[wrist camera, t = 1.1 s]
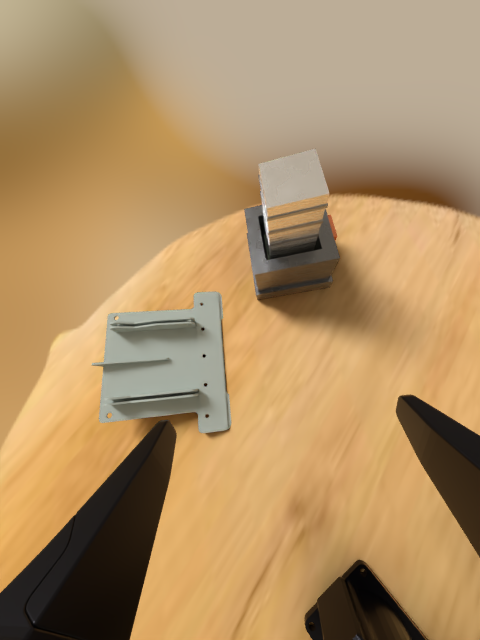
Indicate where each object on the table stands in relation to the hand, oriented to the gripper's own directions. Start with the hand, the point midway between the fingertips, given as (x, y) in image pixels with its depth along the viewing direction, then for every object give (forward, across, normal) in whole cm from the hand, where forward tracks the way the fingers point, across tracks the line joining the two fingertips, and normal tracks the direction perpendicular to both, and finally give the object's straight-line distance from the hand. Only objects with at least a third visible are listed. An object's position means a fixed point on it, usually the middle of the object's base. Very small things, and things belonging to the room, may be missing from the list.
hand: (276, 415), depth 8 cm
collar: (+20, -3, -1) cm, 20 cm away
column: (+18, -3, -2) cm, 18 cm away
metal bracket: (+13, +12, +6) cm, 19 cm away
